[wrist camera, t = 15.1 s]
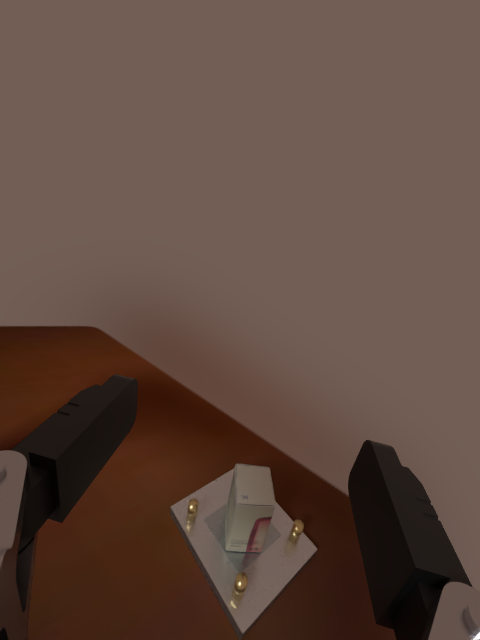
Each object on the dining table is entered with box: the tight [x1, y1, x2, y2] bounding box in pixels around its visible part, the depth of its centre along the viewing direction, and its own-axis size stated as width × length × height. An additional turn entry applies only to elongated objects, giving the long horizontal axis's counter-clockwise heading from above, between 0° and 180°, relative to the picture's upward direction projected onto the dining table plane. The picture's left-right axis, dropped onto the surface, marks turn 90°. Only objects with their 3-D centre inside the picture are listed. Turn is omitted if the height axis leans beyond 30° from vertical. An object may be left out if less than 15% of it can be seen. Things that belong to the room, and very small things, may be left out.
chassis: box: [170, 468, 317, 640], centre depth 34 cm, size 14×12×4 cm
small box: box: [225, 464, 276, 552], centre depth 33 cm, size 5×4×8 cm
